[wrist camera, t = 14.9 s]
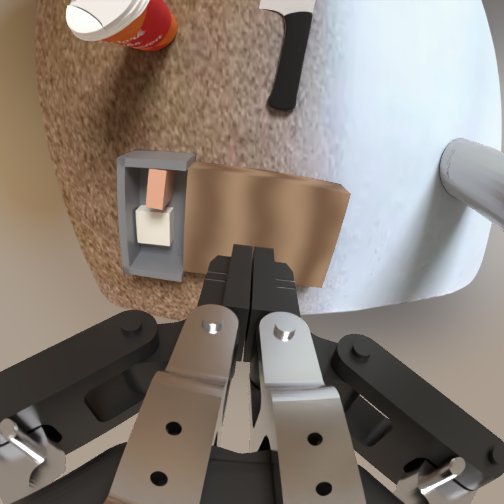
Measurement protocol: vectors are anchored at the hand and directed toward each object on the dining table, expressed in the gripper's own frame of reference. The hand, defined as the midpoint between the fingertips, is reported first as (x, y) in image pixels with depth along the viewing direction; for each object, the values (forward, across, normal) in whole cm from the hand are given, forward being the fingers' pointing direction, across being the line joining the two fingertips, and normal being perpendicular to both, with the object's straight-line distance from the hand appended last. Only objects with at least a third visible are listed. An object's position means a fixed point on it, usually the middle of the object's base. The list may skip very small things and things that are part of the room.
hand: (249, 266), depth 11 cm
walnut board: (+24, -2, +8) cm, 25 cm away
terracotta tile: (+21, +10, +4) cm, 23 cm away
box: (+23, +11, +8) cm, 27 cm away
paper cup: (+23, +14, -16) cm, 31 cm away
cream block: (+21, +12, +9) cm, 26 cm away
